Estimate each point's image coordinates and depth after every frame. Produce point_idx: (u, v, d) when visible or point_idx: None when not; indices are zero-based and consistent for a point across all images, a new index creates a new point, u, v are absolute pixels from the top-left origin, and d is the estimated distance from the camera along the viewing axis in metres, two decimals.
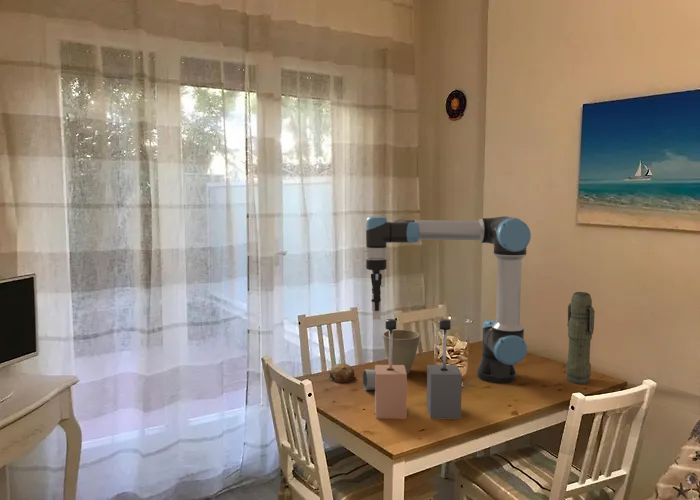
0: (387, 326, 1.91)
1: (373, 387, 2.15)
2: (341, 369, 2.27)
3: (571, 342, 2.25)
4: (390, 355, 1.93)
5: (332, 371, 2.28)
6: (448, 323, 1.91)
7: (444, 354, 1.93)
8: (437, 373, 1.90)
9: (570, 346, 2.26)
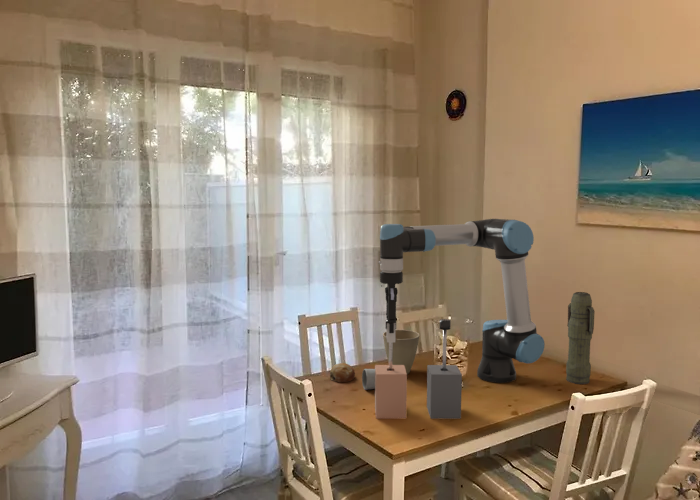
0: None
1: (372, 386, 2.16)
2: (342, 368, 2.27)
3: (571, 342, 2.25)
4: (390, 355, 1.93)
5: (332, 371, 2.29)
6: (448, 323, 1.91)
7: (444, 354, 1.93)
8: (437, 373, 1.90)
9: (570, 346, 2.26)
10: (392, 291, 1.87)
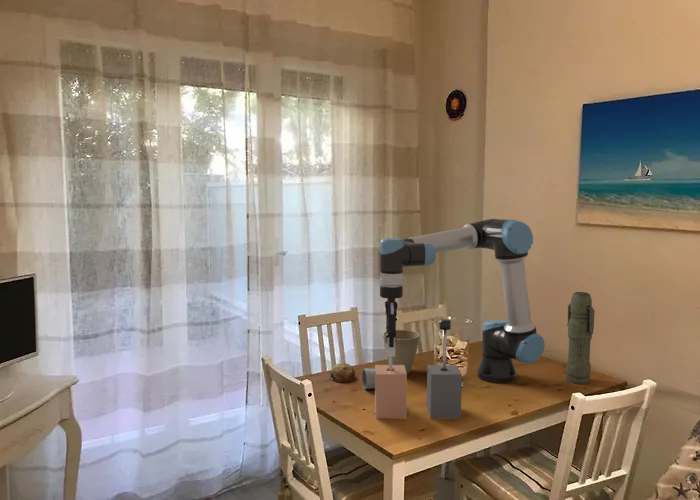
0: None
1: (372, 386, 2.16)
2: (342, 368, 2.27)
3: (571, 342, 2.25)
4: (390, 369, 1.94)
5: (333, 371, 2.29)
6: (448, 323, 1.91)
7: (444, 354, 1.93)
8: (437, 373, 1.90)
9: (570, 346, 2.26)
10: (392, 306, 1.87)
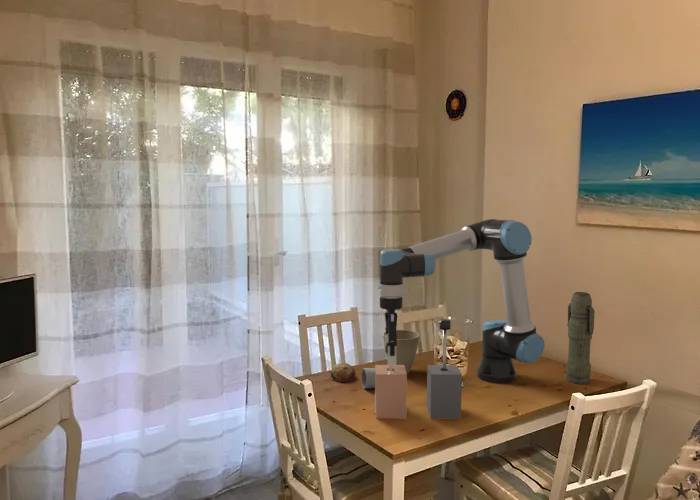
0: (387, 350, 1.92)
1: (371, 386, 2.17)
2: (342, 368, 2.27)
3: (571, 342, 2.25)
4: None
5: (333, 371, 2.29)
6: (448, 323, 1.91)
7: (444, 354, 1.93)
8: (437, 373, 1.90)
9: (570, 346, 2.26)
10: (392, 314, 1.88)
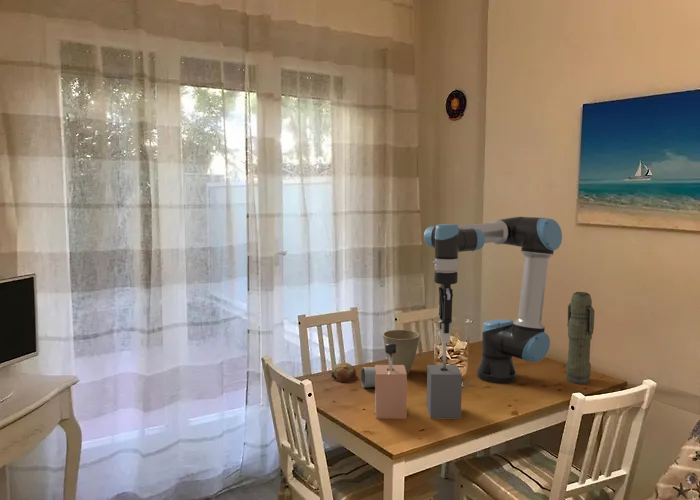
0: (387, 350, 1.92)
1: (371, 385, 2.18)
2: (343, 368, 2.28)
3: (571, 342, 2.25)
4: None
5: (334, 370, 2.29)
6: None
7: (444, 354, 1.93)
8: (437, 373, 1.90)
9: (570, 346, 2.26)
10: (448, 291, 1.86)
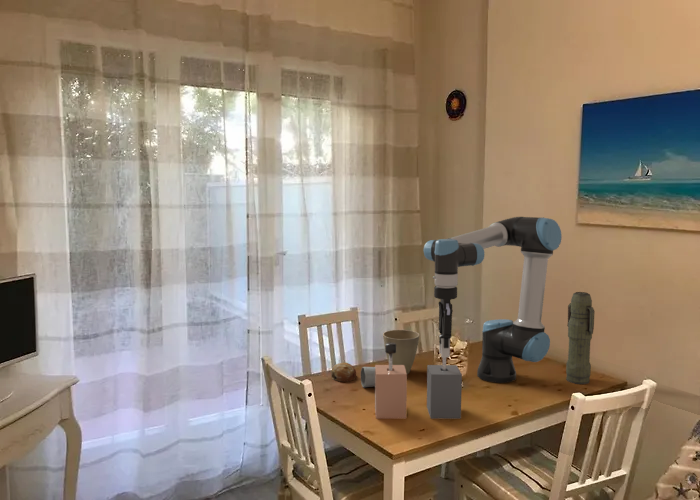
0: (387, 350, 1.92)
1: (370, 384, 2.18)
2: (343, 368, 2.28)
3: (571, 342, 2.25)
4: None
5: (334, 370, 2.29)
6: None
7: (444, 369, 1.94)
8: (437, 373, 1.90)
9: (570, 346, 2.26)
10: (448, 306, 1.87)
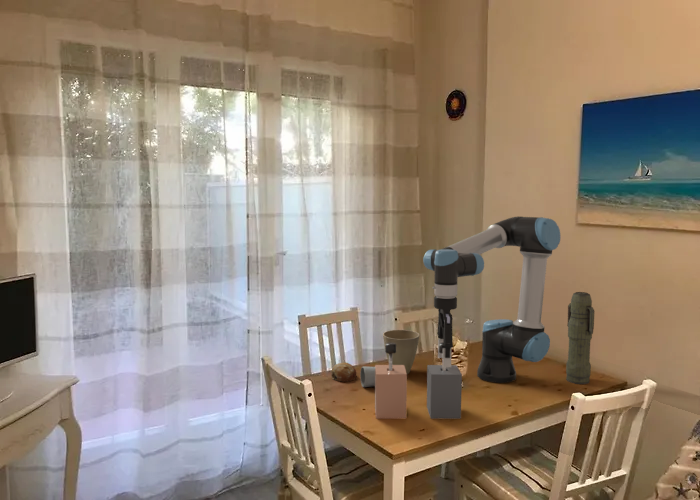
0: (387, 350, 1.92)
1: (370, 384, 2.19)
2: (343, 368, 2.28)
3: (571, 342, 2.25)
4: None
5: (334, 370, 2.29)
6: None
7: None
8: (437, 373, 1.90)
9: (570, 346, 2.26)
10: (447, 315, 1.87)
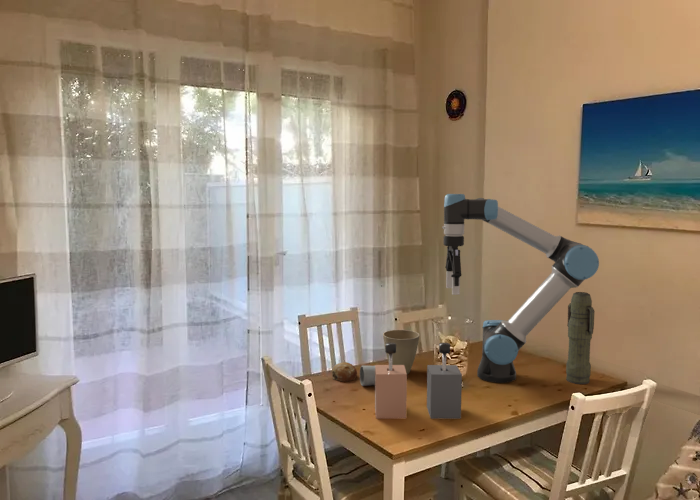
0: (387, 350, 1.92)
1: (369, 383, 2.20)
2: (344, 368, 2.28)
3: (571, 342, 2.25)
4: None
5: (335, 370, 2.30)
6: (448, 347, 1.92)
7: None
8: (437, 373, 1.90)
9: (570, 346, 2.26)
10: (456, 250, 2.12)
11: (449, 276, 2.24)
